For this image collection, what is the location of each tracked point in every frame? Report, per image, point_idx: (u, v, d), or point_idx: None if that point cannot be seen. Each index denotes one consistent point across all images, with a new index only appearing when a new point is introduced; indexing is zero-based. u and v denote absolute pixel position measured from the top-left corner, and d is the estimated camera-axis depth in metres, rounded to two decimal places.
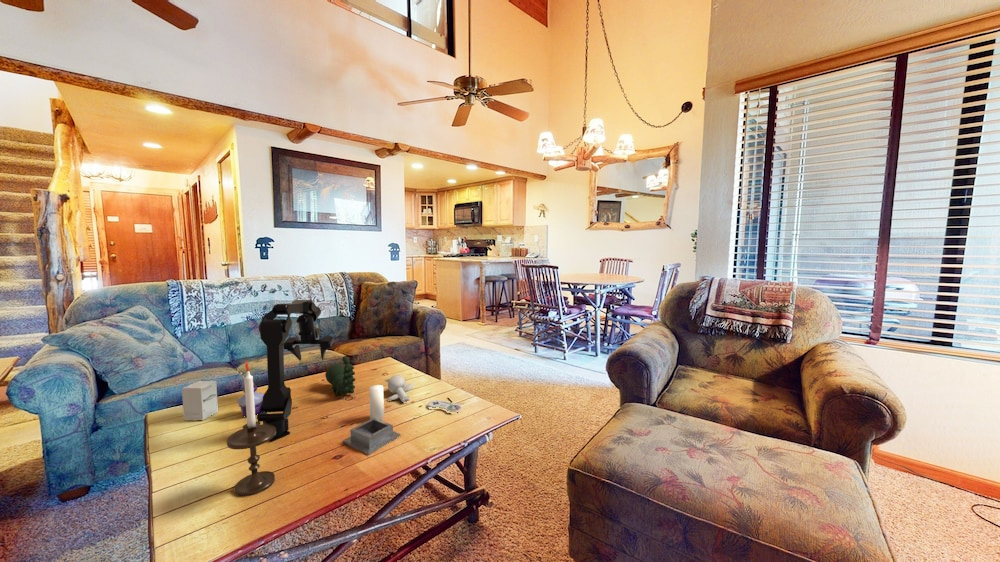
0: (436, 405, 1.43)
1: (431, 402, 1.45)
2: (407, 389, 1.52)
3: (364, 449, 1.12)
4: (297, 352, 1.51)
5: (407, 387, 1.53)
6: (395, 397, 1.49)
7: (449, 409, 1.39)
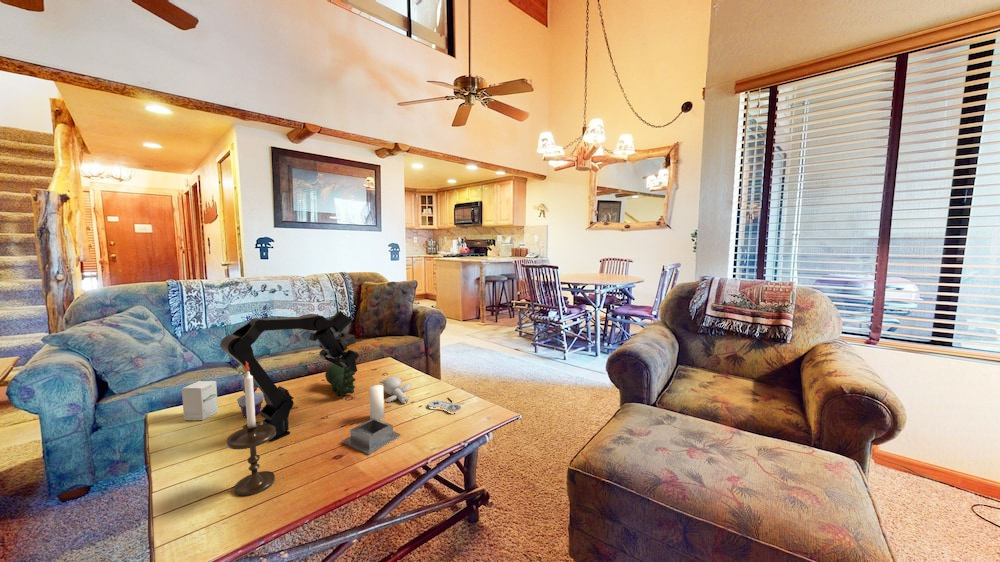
0: (436, 405, 1.43)
1: (431, 402, 1.45)
2: (405, 389, 1.52)
3: (364, 449, 1.12)
4: (334, 361, 1.43)
5: (405, 387, 1.52)
6: (393, 398, 1.48)
7: (449, 409, 1.39)
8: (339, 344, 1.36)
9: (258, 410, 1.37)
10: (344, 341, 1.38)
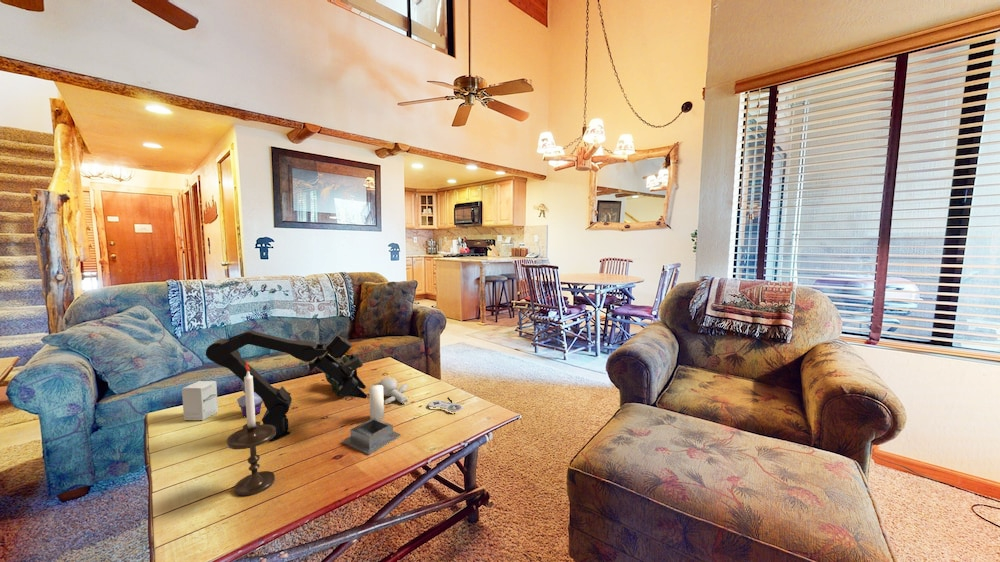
0: (437, 405, 1.43)
1: (432, 402, 1.45)
2: (403, 390, 1.51)
3: (364, 449, 1.12)
4: None
5: (402, 388, 1.52)
6: (392, 399, 1.47)
7: (450, 409, 1.39)
8: (341, 370, 1.26)
9: (258, 410, 1.37)
10: (346, 366, 1.27)
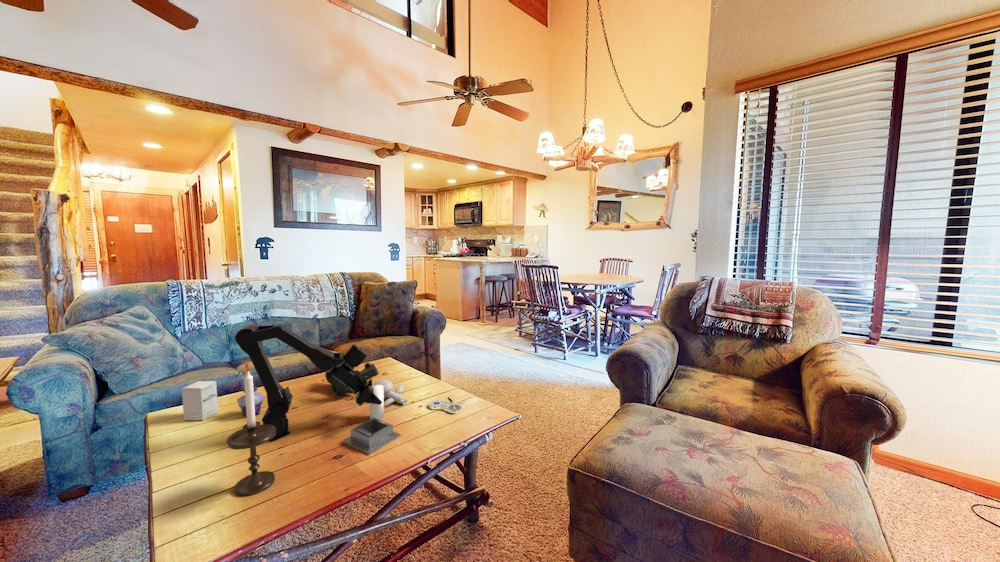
0: (437, 405, 1.43)
1: (432, 402, 1.45)
2: (400, 391, 1.50)
3: (364, 449, 1.12)
4: None
5: (399, 389, 1.51)
6: (391, 401, 1.45)
7: (450, 409, 1.39)
8: (357, 379, 1.28)
9: (258, 410, 1.37)
10: (362, 375, 1.29)
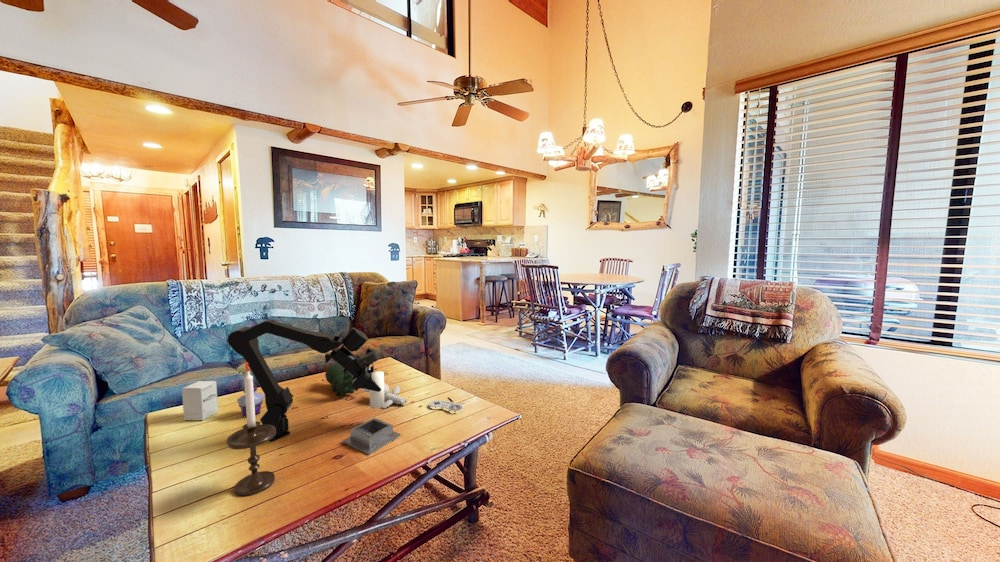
0: (437, 405, 1.43)
1: (432, 402, 1.45)
2: (397, 392, 1.49)
3: (364, 449, 1.12)
4: None
5: (396, 390, 1.49)
6: (390, 402, 1.44)
7: (451, 409, 1.39)
8: (356, 364, 1.24)
9: (258, 410, 1.37)
10: (361, 360, 1.24)
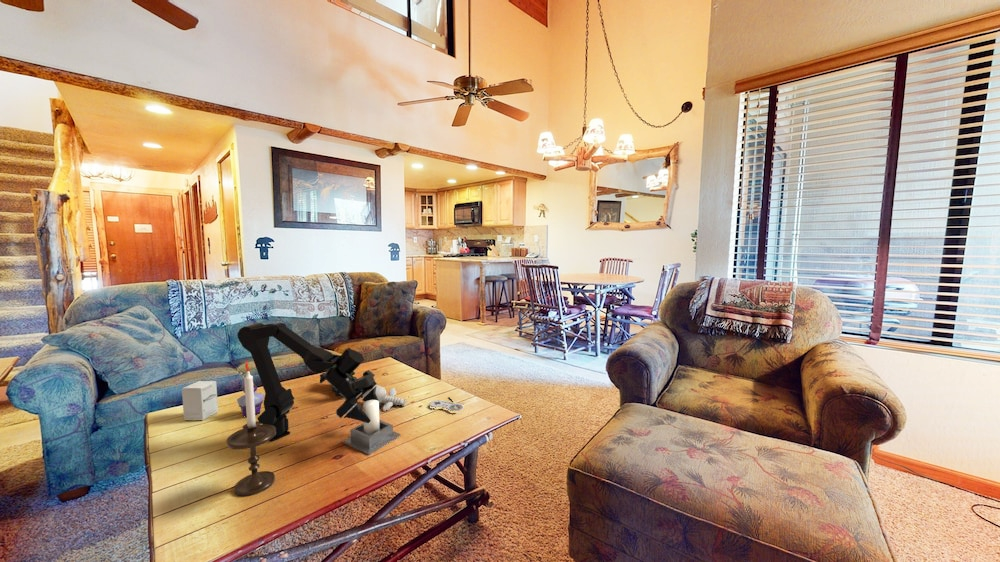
0: (438, 405, 1.43)
1: (432, 402, 1.45)
2: (395, 394, 1.47)
3: (364, 449, 1.12)
4: None
5: (393, 392, 1.48)
6: (391, 404, 1.42)
7: (451, 409, 1.40)
8: (348, 387, 1.16)
9: (258, 410, 1.37)
10: (353, 384, 1.16)
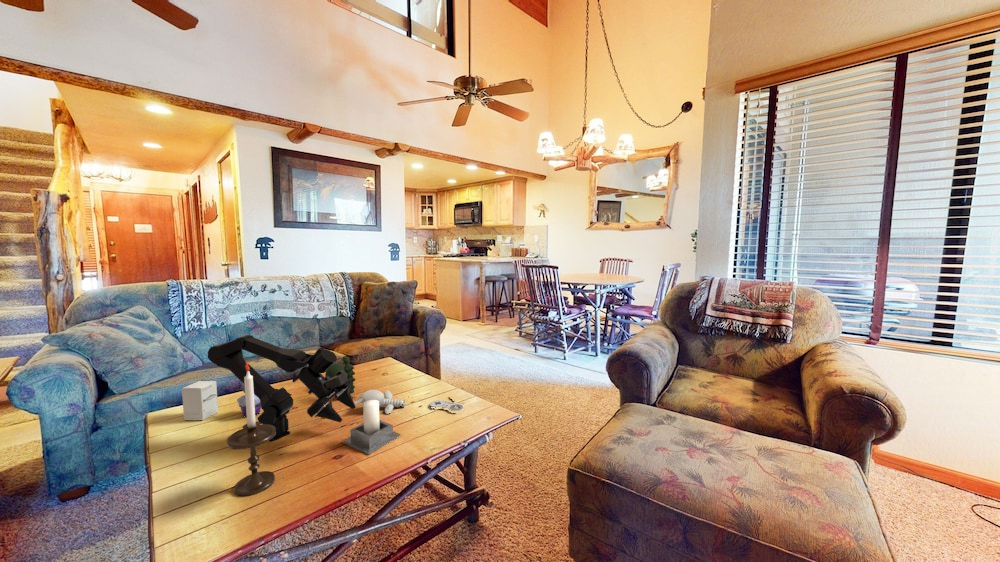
0: (438, 405, 1.43)
1: (433, 402, 1.45)
2: (391, 396, 1.45)
3: (364, 449, 1.12)
4: (343, 401, 1.24)
5: (390, 395, 1.45)
6: (392, 407, 1.40)
7: (452, 409, 1.40)
8: (320, 386, 1.16)
9: (258, 410, 1.37)
10: (326, 383, 1.16)
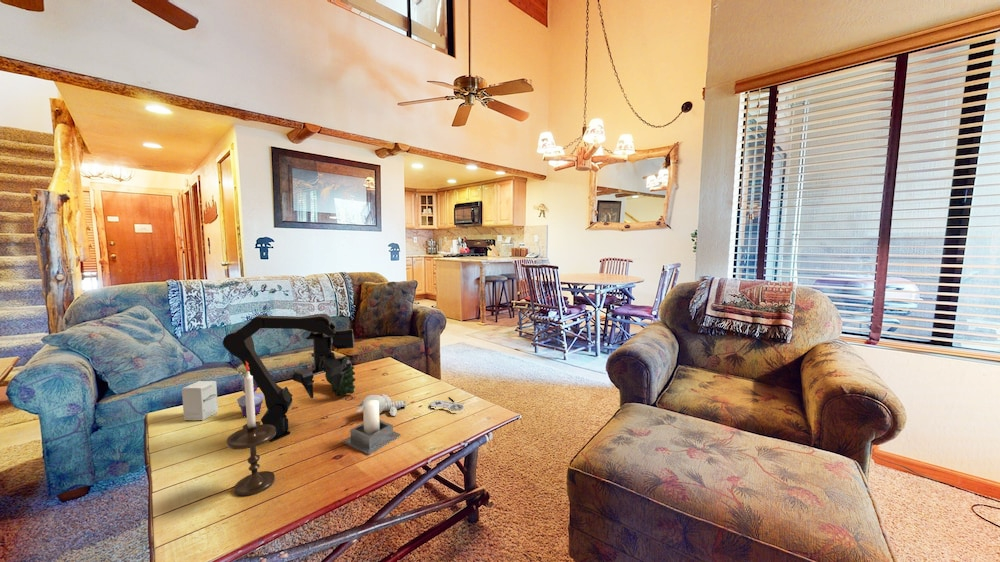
0: (439, 405, 1.43)
1: (433, 402, 1.45)
2: (390, 399, 1.42)
3: (364, 449, 1.12)
4: (334, 376, 1.30)
5: (388, 398, 1.42)
6: (395, 409, 1.38)
7: (452, 409, 1.40)
8: (319, 360, 1.21)
9: (258, 410, 1.37)
10: (323, 363, 1.20)
